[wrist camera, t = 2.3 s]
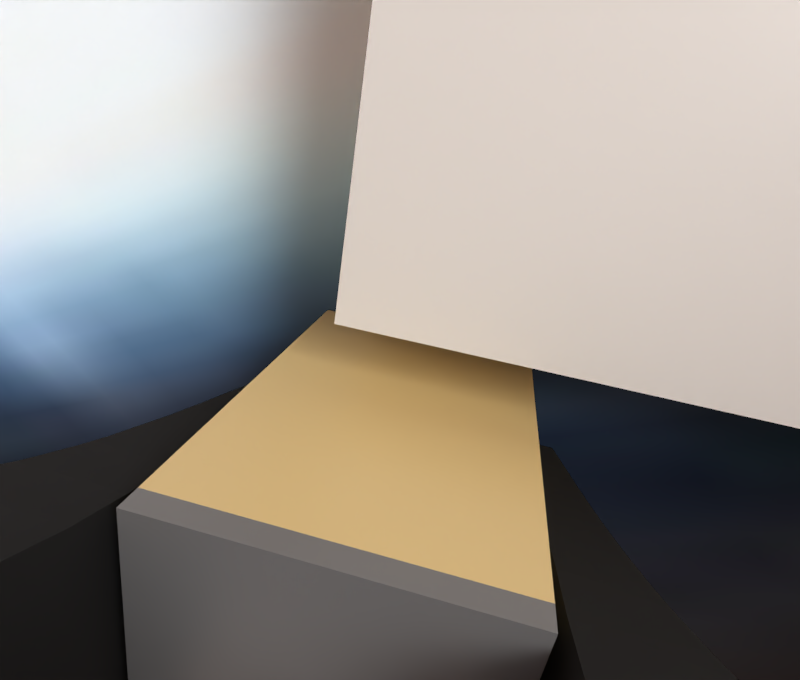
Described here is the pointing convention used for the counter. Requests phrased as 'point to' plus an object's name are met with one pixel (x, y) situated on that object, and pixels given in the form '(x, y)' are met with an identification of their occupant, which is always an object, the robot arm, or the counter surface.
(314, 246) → the counter surface
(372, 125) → the socket plate
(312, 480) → the plug
